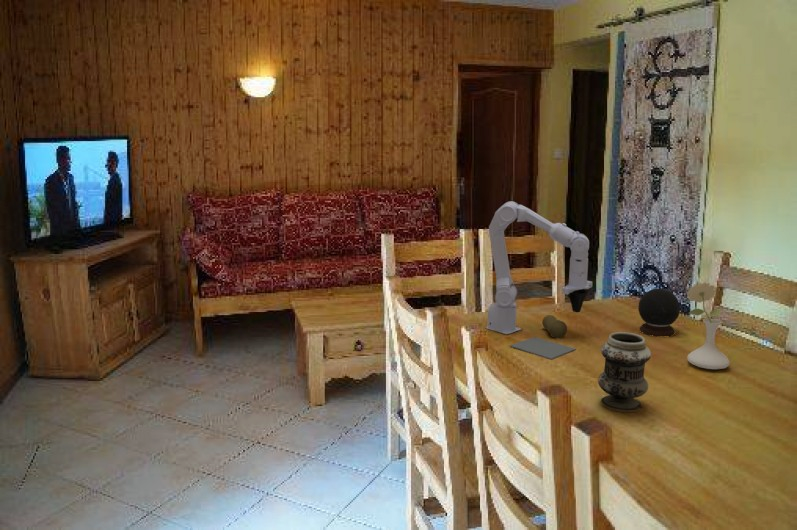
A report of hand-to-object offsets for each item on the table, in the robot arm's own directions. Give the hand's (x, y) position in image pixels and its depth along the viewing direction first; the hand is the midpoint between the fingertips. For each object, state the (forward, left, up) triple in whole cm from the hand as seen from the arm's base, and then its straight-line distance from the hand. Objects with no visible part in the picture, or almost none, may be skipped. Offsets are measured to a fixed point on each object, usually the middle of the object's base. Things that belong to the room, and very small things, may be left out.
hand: (576, 311), depth 217 cm
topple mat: (0, -18, -9) cm, 20 cm away
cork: (-2, -6, -6) cm, 9 cm away
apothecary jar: (+39, -38, -9) cm, 55 cm away
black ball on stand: (+16, +25, -9) cm, 31 cm away
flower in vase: (+41, +5, -9) cm, 42 cm away
